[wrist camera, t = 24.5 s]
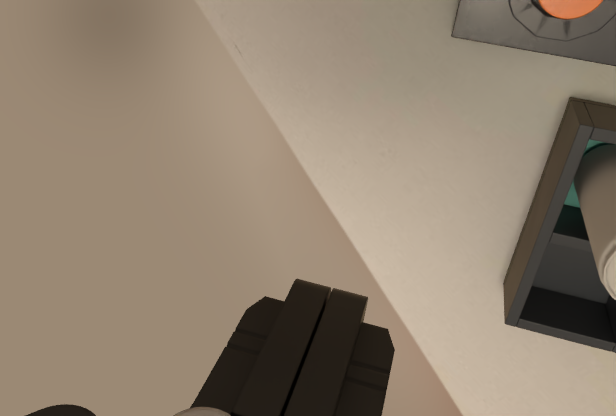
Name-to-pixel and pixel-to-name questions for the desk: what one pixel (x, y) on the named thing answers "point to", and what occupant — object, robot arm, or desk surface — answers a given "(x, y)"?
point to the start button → (569, 7)
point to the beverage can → (600, 209)
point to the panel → (539, 28)
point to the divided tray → (563, 243)
